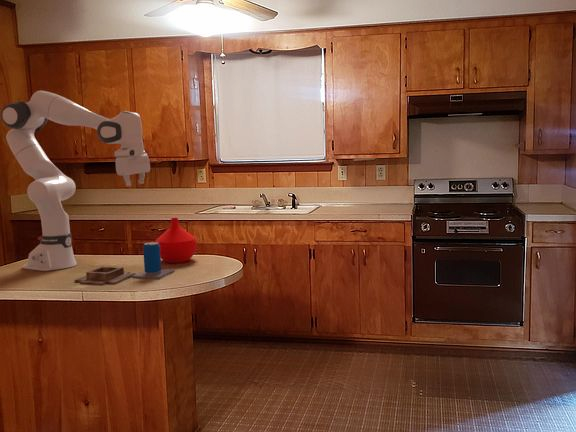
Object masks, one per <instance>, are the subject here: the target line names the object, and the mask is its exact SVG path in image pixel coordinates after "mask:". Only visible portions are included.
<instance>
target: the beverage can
mask: <svg viewBox="0 0 576 432" xmlns="http://www.w3.org/2000/svg"><path fill="white" fill-rule="evenodd" d="M142 248H143V249H142V250H143V266H144V270H145V272H146V273H147V274H157V273H159V272H160V271H161V269H162V259H161V257H160V245H159V244H158V242H155V241H150V242H145V243H143V246H142Z"/></svg>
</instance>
